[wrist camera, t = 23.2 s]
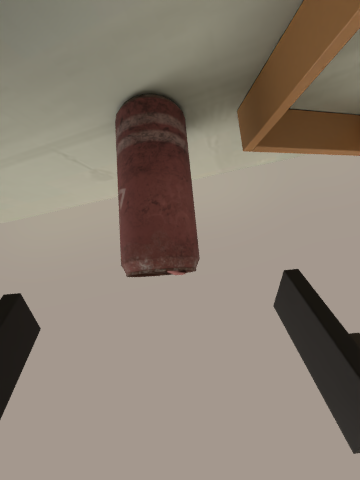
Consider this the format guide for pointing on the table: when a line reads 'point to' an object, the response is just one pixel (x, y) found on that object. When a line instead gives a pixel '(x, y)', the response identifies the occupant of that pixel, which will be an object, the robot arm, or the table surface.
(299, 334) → the robot arm
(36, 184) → the table surface
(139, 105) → the can
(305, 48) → the wooden square frame
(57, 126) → the table surface
